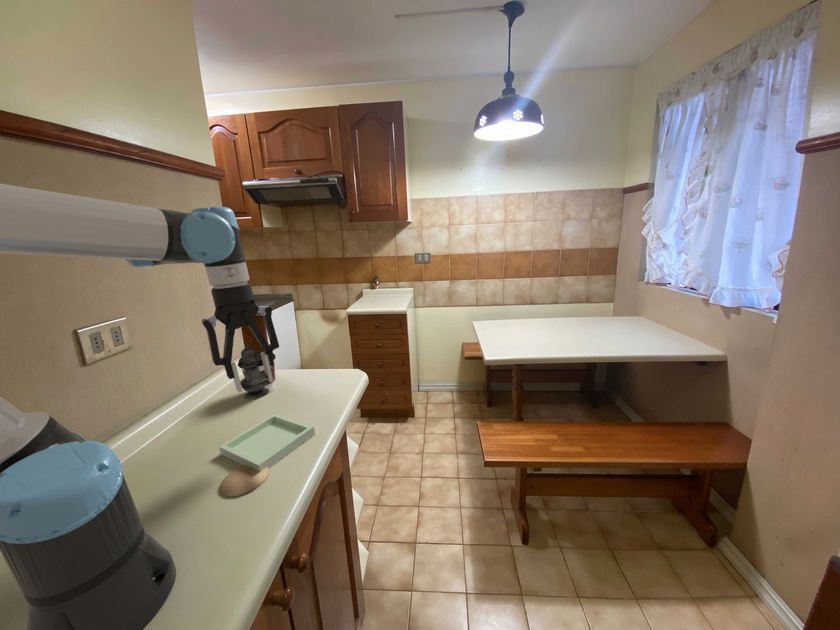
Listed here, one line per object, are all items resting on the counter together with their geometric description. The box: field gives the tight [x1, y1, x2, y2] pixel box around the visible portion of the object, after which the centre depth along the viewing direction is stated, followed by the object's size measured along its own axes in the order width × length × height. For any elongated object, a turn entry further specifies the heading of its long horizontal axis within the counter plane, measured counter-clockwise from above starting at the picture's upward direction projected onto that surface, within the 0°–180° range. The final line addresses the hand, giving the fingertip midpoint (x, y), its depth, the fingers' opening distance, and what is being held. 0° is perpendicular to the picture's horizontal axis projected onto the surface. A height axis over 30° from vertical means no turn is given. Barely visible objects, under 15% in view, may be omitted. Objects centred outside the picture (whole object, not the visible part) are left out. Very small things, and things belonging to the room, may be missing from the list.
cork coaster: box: [220, 465, 270, 498], centre depth 70 cm, size 9×9×1 cm
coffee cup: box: [237, 350, 276, 394], centre depth 108 cm, size 11×11×12 cm
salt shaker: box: [240, 343, 270, 401], centre depth 76 cm, size 6×6×12 cm
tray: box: [218, 413, 316, 472], centre depth 81 cm, size 15×15×2 cm
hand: (254, 384), depth 77 cm, fingers closed on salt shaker, 6 cm apart
